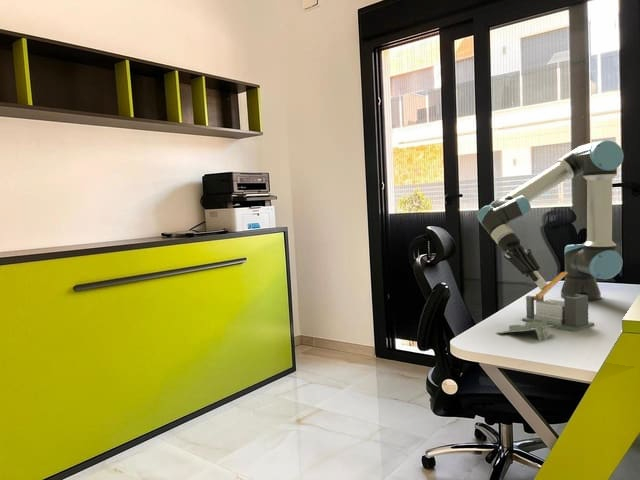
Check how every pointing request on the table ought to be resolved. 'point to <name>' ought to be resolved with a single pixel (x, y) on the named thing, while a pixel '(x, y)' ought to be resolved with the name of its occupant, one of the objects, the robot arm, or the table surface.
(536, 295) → the strap
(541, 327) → the metal bracket
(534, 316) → the grey green railed plate
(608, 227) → the robot arm
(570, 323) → the slotted lug
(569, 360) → the table surface
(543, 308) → the heat sink
